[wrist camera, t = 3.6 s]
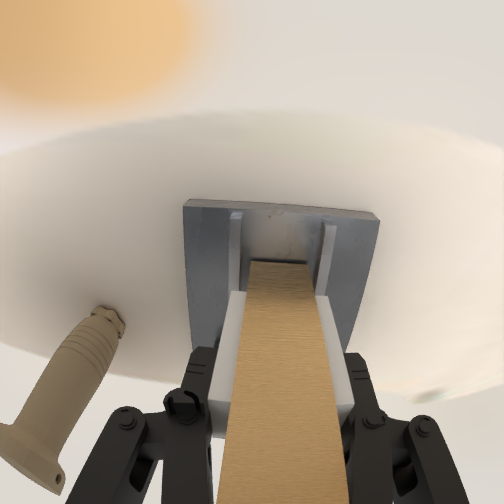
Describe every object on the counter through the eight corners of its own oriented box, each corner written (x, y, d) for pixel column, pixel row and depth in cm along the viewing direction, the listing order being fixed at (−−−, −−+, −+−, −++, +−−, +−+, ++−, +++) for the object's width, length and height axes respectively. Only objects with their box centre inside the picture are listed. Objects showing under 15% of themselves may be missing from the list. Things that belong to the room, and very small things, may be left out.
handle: (132, 296, 20) (29, 469, 7) (137, 354, 23) (72, 503, 9) (80, 281, 20) (-33, 422, 7) (91, 339, 23) (15, 469, 9)
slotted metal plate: (200, 369, 23) (183, 432, 17) (189, 198, 17) (148, 241, 11) (328, 377, 23) (338, 440, 17) (372, 212, 17) (418, 260, 11)
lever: (245, 309, 18) (207, 582, 4) (247, 257, 16) (193, 588, 2) (303, 313, 18) (323, 582, 4) (311, 261, 16) (366, 583, 2)
